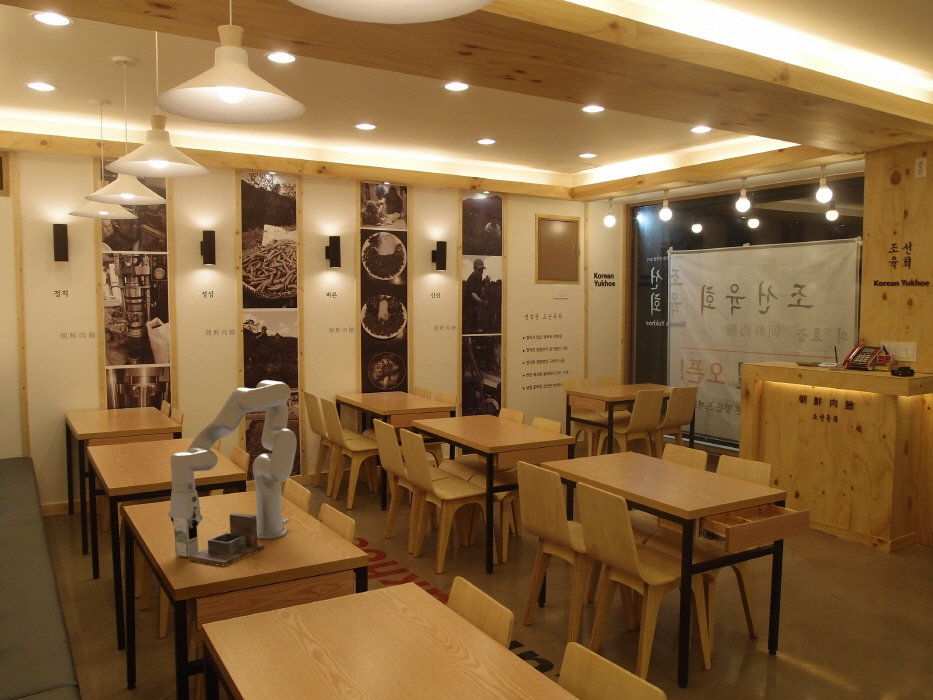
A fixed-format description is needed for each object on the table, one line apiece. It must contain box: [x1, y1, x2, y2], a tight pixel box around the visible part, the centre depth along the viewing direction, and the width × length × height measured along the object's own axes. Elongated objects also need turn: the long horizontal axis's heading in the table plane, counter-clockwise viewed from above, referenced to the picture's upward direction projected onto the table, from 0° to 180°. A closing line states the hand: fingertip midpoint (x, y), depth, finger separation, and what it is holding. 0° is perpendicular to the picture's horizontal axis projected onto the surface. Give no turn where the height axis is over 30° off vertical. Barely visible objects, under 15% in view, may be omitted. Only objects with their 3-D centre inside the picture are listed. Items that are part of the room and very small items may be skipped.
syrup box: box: [173, 516, 200, 558], centre depth 261 cm, size 6×6×14 cm
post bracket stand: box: [188, 512, 265, 567], centre depth 262 cm, size 20×16×12 cm
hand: (186, 536), depth 261 cm, fingers closed on syrup box, 6 cm apart
